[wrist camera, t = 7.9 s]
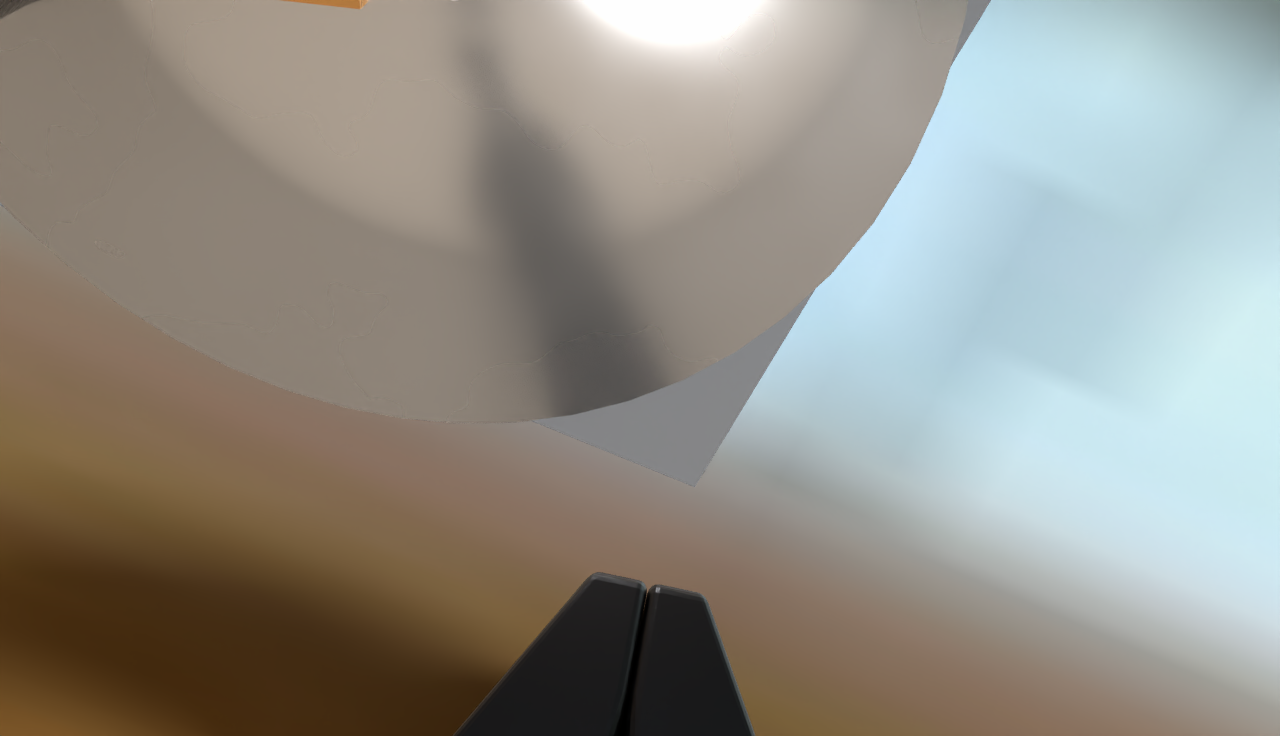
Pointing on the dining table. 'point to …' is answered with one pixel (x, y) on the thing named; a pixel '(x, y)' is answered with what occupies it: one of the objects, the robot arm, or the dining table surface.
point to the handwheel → (463, 180)
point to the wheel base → (694, 394)
